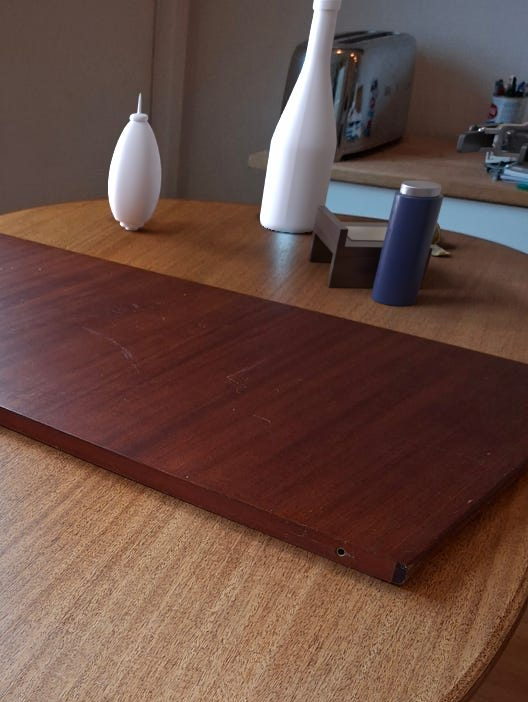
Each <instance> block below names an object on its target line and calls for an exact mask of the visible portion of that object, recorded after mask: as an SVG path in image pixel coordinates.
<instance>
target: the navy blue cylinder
mask: <svg viewBox="0 0 528 702" xmlns="http://www.w3.org/2000/svg"><path fill="white" fill-rule="evenodd" d="M442 187H443V186H442V184H440V183H437V182H433V181H429V180H405V181H403V182H401V185H400V189H397V190H396V191H395V192H394V196H393V200H392V205H391V208H390V212H389V217H388V221H387V223H388V225H387V230H386V234H385V238H384V243H383V247H382V251H381V255H380V260H379V264H378V268H377V272H376V277H375V281H374V285H373V288H372V290H371V293H370V298H371V300H373V301H374V302H376V303H378V304H381V305H385V306H393V307H407V306H412V305H415V304H416V302H417V300H418V295H419V292H420V289H419V288H420V284H421V280H422V277H423V273H424V269H425V265H426V262H427V258H428V254H429V250H430V247H431V243H432V239H433V235H434V232H435V228H436V224H437V223H438V219H439V216H440V213H441V209H442V206H443V202H444V197H445V196H444V194H443V193H441V191H442V189H443V188H442Z"/></svg>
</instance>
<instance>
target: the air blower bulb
mask: <svg viewBox="0 0 528 702" xmlns="http://www.w3.org/2000/svg"><path fill="white" fill-rule="evenodd" d="M137 105H138V106H137V112H136V113H132V114H130V116H129V122H128V123H127V124H126V126H125V127H124V128H123V131H122V132H121V134H120V136H119V139H118V140H117V143H116V145H115V149H114V152H113V155H112V158H111V163H110V167H109V173H108V184H107V185H108V187H107V188H108V191H107V192H108V201H109V206H110V210H111V212H112V215H113V217H114V219H115V221H118V222H120V223H119V225H120V226H121V227H122V228H125V230H127V231H138V229H139V228H140V229H141V228H142V227H144V224H145V223H147V222H149V220H151V218H152V216H153V214H154V212H155V211H156V208H157V205H158V203H159V198H160V194H161V186H162V163H161V157H160V150H159V146H158V142H157V138H156V135H155V133H154V130H153V128H152V126H151V125H150V123H149V122H148V121H149V115H148V114H146V113H142V93H141V92H140V93H139V96H138V104H137Z"/></svg>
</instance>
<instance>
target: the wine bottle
mask: <svg viewBox="0 0 528 702" xmlns="http://www.w3.org/2000/svg"><path fill="white" fill-rule="evenodd" d="M342 1H343V0H313V5H312V9H313V10H314V11H313V17H312V21H311V27H310V31H309V37H308V42H307V49H306V54H305V59H304V62H303V66H302V68H301V71H300V72H299V73H300V74H299V76H298V78H297V81H296V83H295V85H294V87H293V89H292V92H291V94H290V96H289V99H288V100H287V103H286V106H285V107H284V110H283V112H282V114H281V116H280V118H279V121H278V122H277V125H276V128H275V130H274V132H273V135H272V138H271V140H270V147H269V155H268V160H267V167H266V175H265V181H264V188H263V195H262V201H261V207H260V208H261V209H260V214H259V221H260V224H261V226H262V227H263V226H264V227H263V228H265V229H267V228H268V229H267V230H269V229H271V230H270V231H272V230H275V231H274V232H277V231H281V232H280V233H283V232H290V233H289V234H306V233H305V232H308V233H312V232H311V231H313V229H314V224H315V218H316V213H317V208H318V205H320V206H326V203H327V197H328V193H329V189H330V188H329V187H330V182H331V176H332V172H333V166H334V161H335V157H336V156H335V155H336V150H337V145H338V144H337V143H338V137H337V124H336V115H335V107H334V106H335V105H334V98H333V87H332V86H333V85H332V76H331V60H332V59H331V58H332V51H333V46H334V39H335V34H336V33H335V32H336V28H337V27H336V26H337V19H338V12H339V11H340V10H341V6H342Z"/></svg>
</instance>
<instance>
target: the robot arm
mask: <svg viewBox="0 0 528 702" xmlns="http://www.w3.org/2000/svg"><path fill="white" fill-rule="evenodd" d="M504 142H506V149H507V150H502V147H503V143H504ZM456 152H457V153H458V154H469V153H480V152H482V153H485V152H486V153H490V154H491V155H492V156H494V157H498V158H499V157H501V158H514V159H515V160H517V161H516V163H517V165H518V166H523V167H525V166H528V121H524V122H523V123H516V124H515V123H505V122H503V121H499V122H494V123H484V124H472V125H469V128H468V131H463V132H462V133H461V134H460V135H459V138H458V141H457V145H456Z"/></svg>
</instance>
